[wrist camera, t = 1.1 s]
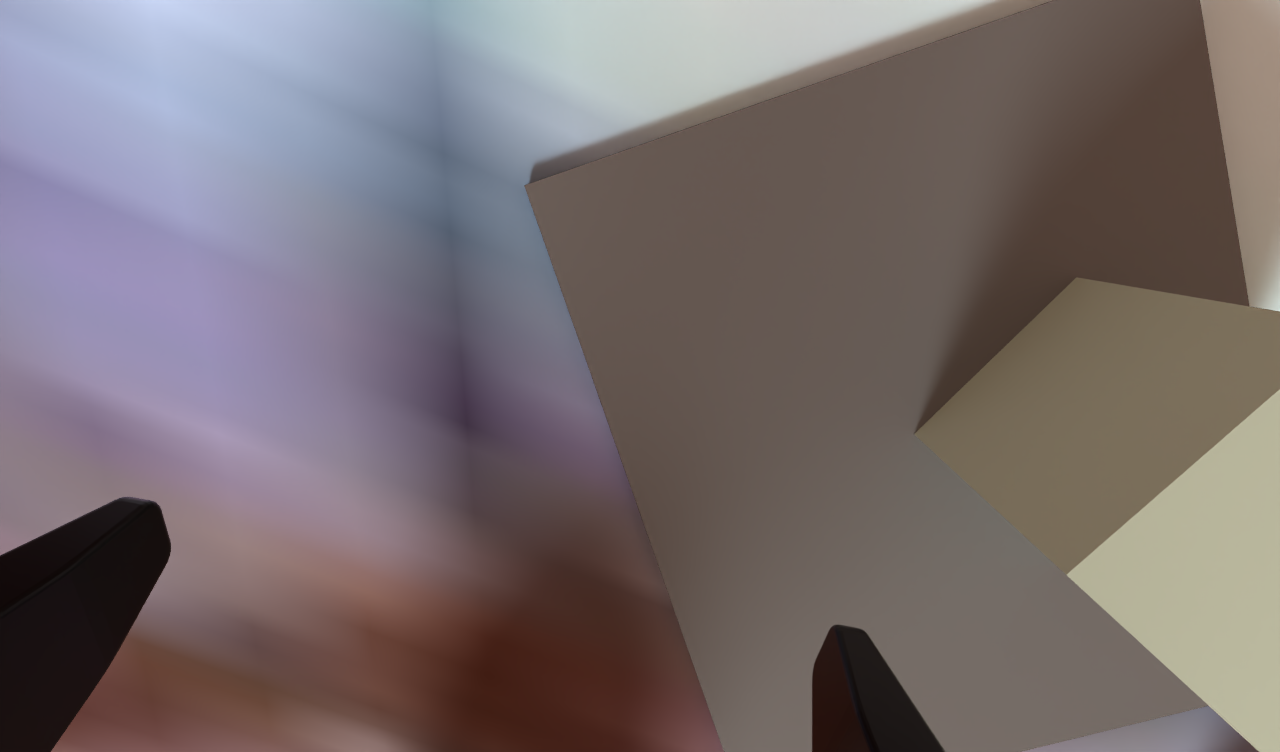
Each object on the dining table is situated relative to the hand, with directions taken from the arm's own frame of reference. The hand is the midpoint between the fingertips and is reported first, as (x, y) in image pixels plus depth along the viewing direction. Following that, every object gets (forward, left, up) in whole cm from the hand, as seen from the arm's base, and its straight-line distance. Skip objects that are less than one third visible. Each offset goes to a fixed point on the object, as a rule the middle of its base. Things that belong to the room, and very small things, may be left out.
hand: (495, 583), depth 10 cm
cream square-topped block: (-7, -14, -15) cm, 21 cm away
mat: (-6, -10, -15) cm, 19 cm away
